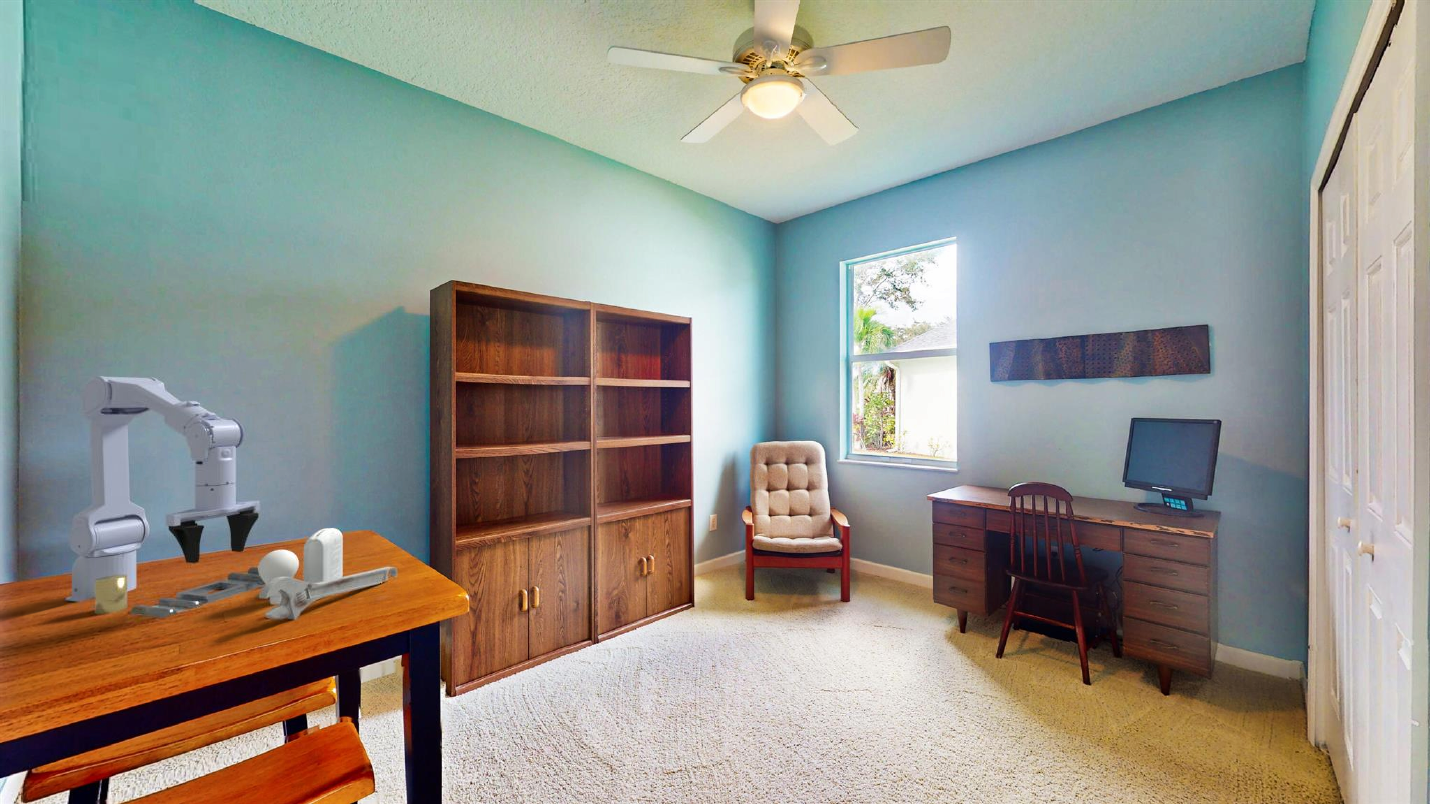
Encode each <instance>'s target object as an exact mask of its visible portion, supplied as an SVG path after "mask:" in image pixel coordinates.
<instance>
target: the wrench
mask: <svg viewBox="0 0 1430 804" xmlns="http://www.w3.org/2000/svg"><path fill="white" fill-rule="evenodd" d="M388 577H396V578H397V577H398V569H397V568H396V567H395V566H394V567H393V566H385V567H380V568H376V569H372V570H367V571H363V572H358V573H354V574H353V573H352V574H350V575H345V576H342V577H340V578H336V579H332V580H327V581H323V582H319V583H308V582H304V581H303V580H300V579H297V578H294V577H293V578H292V577H277V578H274V579H272V580H271V581H269V582H268V583H267V584H265V586H262V587H261V590H260V591H259V593H258V598H259V599H266V600H267V599H268V598H270V596H272V595H273V594H275V593H276V592H279V593H281V595H282V599H281V602H280V604H277V605H276V606H274V607H272V608H270V609H269V610H268V611H266V612H265V613H264V615H265V618H268V619H273V620H283V619H287V620H294V621H295V620H297V619H298V618H299V617H300V616H301V613H302V612H303V611H304V610H305V609H306V608H308V606H310V605H311V604H312V603H314V602H315V601H317V600H319V599H322V598H327V597H331V596H334V595H338V594H343V593H346V592H351V591H355V590H360V589H364V588H367V587H372V586H376V585H381V584H383V583H382V581H387V580H388ZM380 583H381V584H380Z"/></svg>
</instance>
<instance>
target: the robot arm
mask: <svg viewBox="0 0 1430 804" xmlns="http://www.w3.org/2000/svg"><path fill="white" fill-rule="evenodd" d="M150 411H153V412H155V413H157V414H159V415H160V416H163V420H164V423H165V425H166V426H167V427H169V428H170V429H172V430H174V431H175V432H177V433H178V434H180V435H182V436H183V437H185V439H186V443H187V446H188V448H189V449H190V458H191V459H192V461H194V476H195V477H194V485H195V486H194V508H191V509H186V510H182V511H178V512H175V513H168V514H165V526H167V527H168V530H169V532H170V533H171V534H172V535H173V537H174V538H175V539H176V541H177V543H178V544H179V547H180V548H181V550H182V553H183V557H184V560H185V563H187V564H189V563H190V564H197V563H199V560H200V555H201V554H200V553H201V550H200V549H201V547H200V545H201V539H202V535H203V532H204V531H203V530H204V528H205V526H204V525H202V524H198V522H201V521H206V520H213V519H216V518H222V517H226V519H227V523H228V526H229V532H230V549H231V552H235V553H242V552H244V549H245V546H246V543H247V540H248V537H249V534H250V532H251V530H252V528H253V527H254V525H255V523H256V522H257V521H258V519H259V511H261V510H260V509H261V505H260V504H261V502H260V500H247V501H239V502H238V501H236V500H237V449H238V448H240V446H242V444H243V442H244V441H245V440H244V439H245V430H244V427H243V424H241V422H239V421H238V420H237V419H236V418H233V417H231V418H221V417H219V416H218V415H217V414H216V413H214V412H212V411H208V410H207V409H206V408H204V407H203V406H201V403H200V402H199V401H196V400H188V401H187V400H186V401H185V400H184V401H180V400H179V399H178V398H177V397H175V396H174V395H173V394H172V393H170V392H168V391H167V390H166V388H165V383H164V382H162V381H161V380H159V379H157V378H156V377H152V376H151V377H149V376H148V377H127V376H125V377H124V376H121V377H120V376H104V375H103V376H102V375H94V376H91V377H90V378H89V379H88V380H87V381H86V382H85V384H84V385H83V386H82V387H81V412H82V417H83V418H84V419H87V420H89V432H90V433H89V435H90V438H89V439H90V471H91V472H90V473H91V500H92V501H91V502H92V503H91V504H90V505H89V506H88V507H86V508H85V509H83V510H82V511H80V512H79V513H77V514H76V515H74V516H73V517H72V525H71V530H70V531H69V535H68V544H69V547H70V549H71V550H72V552H74V554H75V553H76V555H77V556H78V557H77V558H76V559H75V561H74V562H73V564H72V567H71V596H68V597H65V601H70V602H76V603H79V602H83V601H87V600H91V599H95V580H96V579H99V578H102V577H107V576H113V575H127V593H128V592H130V591H133V590H135V589H137V550H138V549H141V548H142V544H143V543H145V542H146V541H147V539H148V537H149V535H150V524H149V522H148V520H147V517H146V510H145V509H144V508H143V507H142V506H139V505H137V504H136V503H134V502H132V501H130V500H131V499H130V497H131V496H130V469H129V468H130V466H129V465H130V464H129V435H128V434H129V432H128V425H129V424H130V423H131V422H132V421H133V420H134V419H135V418H140V417H142V416H144V415H145V414H148V412H150Z"/></svg>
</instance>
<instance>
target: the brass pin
mask: <svg viewBox="0 0 1430 804" xmlns="http://www.w3.org/2000/svg"><path fill="white" fill-rule="evenodd" d="M127 608H128V592H127V575H113V576H107V577H102V578H99V579H96V580H95V598H94V614H95V615H108V614H113V613H117V612H121V611H124V610H125V609H127Z"/></svg>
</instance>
